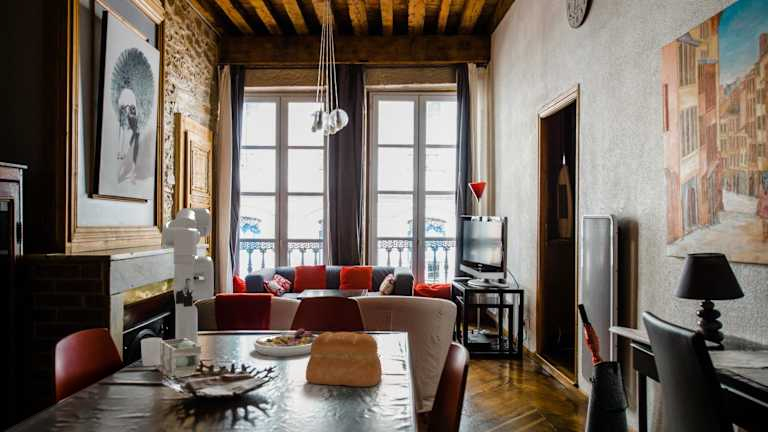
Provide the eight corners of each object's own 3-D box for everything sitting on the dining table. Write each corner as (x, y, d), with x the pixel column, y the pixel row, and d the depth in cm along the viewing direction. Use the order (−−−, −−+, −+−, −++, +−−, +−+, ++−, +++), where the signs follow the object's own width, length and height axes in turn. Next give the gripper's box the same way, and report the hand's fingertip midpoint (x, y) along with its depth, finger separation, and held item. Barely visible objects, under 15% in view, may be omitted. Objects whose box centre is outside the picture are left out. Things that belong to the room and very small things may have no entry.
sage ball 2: (174, 371, 196) (168, 358, 194) (187, 362, 199) (182, 350, 197) (178, 374, 191) (172, 362, 190) (192, 366, 195) (186, 354, 193)
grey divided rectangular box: (156, 367, 204) (156, 341, 204) (187, 362, 211) (187, 337, 211) (171, 379, 187) (171, 350, 187) (204, 373, 194) (204, 346, 195)
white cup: (153, 367, 205) (154, 341, 205) (136, 366, 206) (136, 341, 207) (166, 362, 213) (166, 337, 213) (149, 361, 214) (149, 337, 214)
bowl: (301, 361, 214) (301, 342, 214) (240, 356, 223) (240, 338, 224) (331, 345, 242) (331, 329, 243) (275, 341, 252) (275, 325, 252)
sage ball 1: (172, 347, 197) (184, 342, 202) (179, 360, 196) (191, 355, 201) (179, 341, 194) (191, 336, 199) (186, 354, 193) (198, 348, 198)
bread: (374, 389, 174) (374, 338, 175) (302, 385, 180) (302, 335, 180) (384, 376, 189) (384, 329, 190) (317, 372, 195) (317, 327, 196)
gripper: (167, 259, 201) (167, 303, 201) (180, 261, 187) (180, 308, 187) (187, 259, 206) (187, 301, 205) (201, 261, 192) (201, 306, 192)
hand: (183, 305), depth 196 cm, fingers open, 9 cm apart
